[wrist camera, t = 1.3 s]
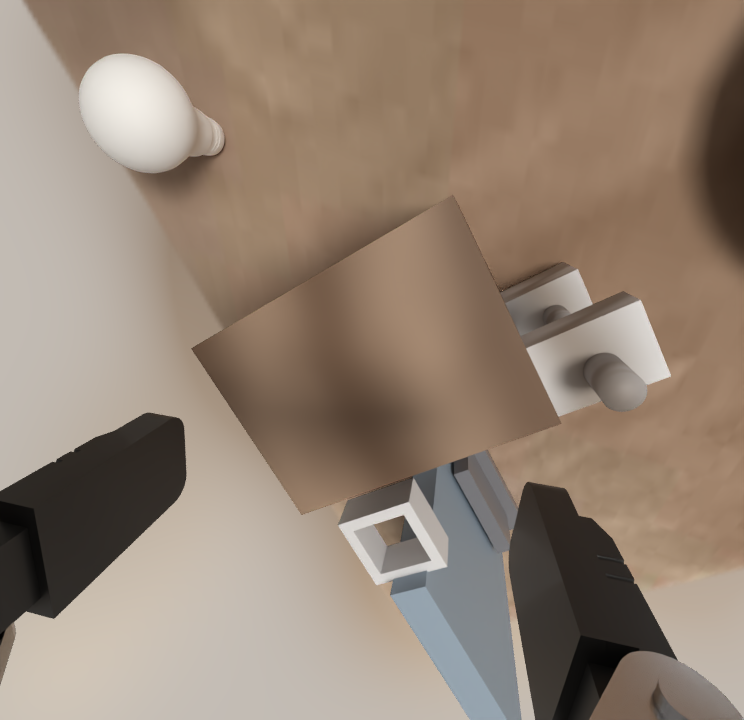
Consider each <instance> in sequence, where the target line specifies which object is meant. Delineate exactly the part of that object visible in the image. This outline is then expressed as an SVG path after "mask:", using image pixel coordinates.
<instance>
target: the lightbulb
mask: <svg viewBox="0 0 744 720" xmlns="http://www.w3.org/2000/svg"><path fill="white" fill-rule="evenodd" d="M79 108H80V113H81V116H82V119H83V122H84V124H85V126H86V129H87V131H88V133H89V134H90V136H91V137H92V139H93V140H94V142H95V143H96V144H97V145H98V146H99V147H100V149H101V150H102V151H103V152H104V153H105V154H107V155H108V156H109V157H110V158H112V159H113V160H114V161H116V162H117V163H119V164H121V165H123V166H125V167H127V168H129V169H132V170H135V171H138V172H144V173H160V172H165V171H169V170H171V169H174V168H176V167H177V166H178V165H180V164H181V163H182V162H183V161H185V160H186V159H187V158H188V157H189V156H192V157H197V156H201V155H207V156H212V155H216V154H218V153H219V152H220V151H221V150H222V148H223V145H224V133H223V130H222V128H221V126H220V125H219V124H218V123H217V122H216V121H214V120H212V119H211V118H209V117H207V116H206V115H205V114H204V113H203V112H202V111H200V110H199V109H197V108H195V107H193V105H192V103H191V101H190V99H189V97H188V95H187V94H186V92H185V90H184V88H183V87H182V85H181V84H180V83H179V82H178V81H177V79H176V78H175V77H174V76H172V75H171V74H170V73H169V72H168V71H167V70H166V69H164V68H163V67H162V66H161V65H159V64H157V63H155V62H153V61H152V60H150V59H147V58H145V57H142V56H138V55H134V54H113V55H109V56H105V57H103V58H102V59H100V60H98V61H97V62H95V63H94V64H93V65H92V66H91V67H90V68H89V69H88V70H87V72H86V74H85V75H84V77H83V79H82V82H81V85H80V89H79Z"/></svg>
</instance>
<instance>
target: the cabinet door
mask: <svg viewBox="0 0 744 720" xmlns="http://www.w3.org/2000/svg"><path fill="white" fill-rule="evenodd" d="M402 515H404V516H405V520H404V526H403V531H402V536H401V541H400V543H397V544H393V545H390V546H387V545H386V544H385V542H384V541H383V539H382V537H381V536H380V534H379V533H378V531H377V529H376V528H375V526H374V524H377V523H380V522H383V521H386V520H389V519H393V518H396V517H399V516H402ZM338 526H339V528H340V529H341V531H342V532H343V534H344V536H345V537H346V539H347V540H348V542H349V543H350V545H351V546H352V548H353V549H354V551H355V553H356V554H357V556H358V557H359V558H360V560H361V562H362V563H363V565H364V567H365V568H366V570H367V571H368V573H369V574H370V576H371V577H372V579H373V580H374V582H375V584H376V585H379V584H383V583H387V582H391V581H393V584H392V589H391V594H390V596H391V597H392V599H393V600H394V602H395V603H396V605H397V607H398V608H399V610H400V611H401V613H402V614H403V616H404V617H405V619H406V621H407V622H408V624H409V625H410V627H411V628H412V630H413V632H414V633H415V635H416V636H417V638H418V639H419V641H420V642H421V644H422V646H423V647H424V649H425V650H426V652H427V653H428V655H429V656H430V658H431V660H432V661H433V662H434V664H435V666H436V667H437V669H438V671H439V672H440V674H441V675H442V677H443V678H444V680H445V681H446V683H447V684H448V686H449V688H450V689H451V691H452V692H453V694H454V695H455V697H456V699H457V700H458V702H459V703H460V705H461V706H462V708H463V709H464V711H465V713H466V714H467V716H468V717H469V719H470V720H521V711H520V703H519V694H518V686H517V677H516V668H515V660H514V651H513V643H512V634H511V625H510V616H509V608H508V599H507V591H506V582H505V573H504V565H503V556H502V552H501V553H497V551H496V550H495V548H494V546H493V544H492V542H491V541H490V539H489V537H488V535H487V533H486V532H485V530H484V528H483V526H482V524H481V523H480V521H479V519H478V517H477V515H476V514H475V512H474V510H473V508H472V506H471V505H470V503H469V501H468V499H467V497H466V496H465V494H464V492H463V490H462V488H461V487H460V485H459V483H458V481H457V479H456V478H455V476H454V462H451V463H448V464H445V465H442V466H439V467H437V468H434V469H431V470H428V471H425V472H422V473H420V474H417V475H414V476H413V478H411V479H408V480H405V481H402V482H399V483H396V484H394V485H391V486H388V487H385V488H382V489H379V490H376V491H374V492H371V493H368V494H365V495H362V496H359V497H356V498H354V499H351V500H348V501H347V504H346V506H345V509H344V511H343V514H342V516H341V519H340V521H339V524H338Z"/></svg>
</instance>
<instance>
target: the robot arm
mask: <svg viewBox="0 0 744 720" xmlns="http://www.w3.org/2000/svg"><path fill="white" fill-rule="evenodd" d="M185 457H186V456H185V436H184V425H183V422H182V421H181V420H180V419H179V418H176V417H170V416H165V415H159V414H154V413H145V414H143V415H142V416H139V417H138V418H136V419H134V420H132V421H131V422H129V423H127V424H125V425H124V426H122V427H120V428H119V429H117V430H115V431H113V432H110V433H107V434H104V435H101V436H98V437H95V438H93V439H92V440H90V441H88V442H86V443H85V444H83V445H81V446H79V447H78V448H76V449H75V450H74V452H69V453H67V454H65V455H63V456H62V457H60V458H58V459H57V461H56V462H51V463H50V464H48V465H46V466H44V467H42V468H40V469H39V470H37V471H35V472H33V473H32V474H30V475H28V476H26V477H25V478H23V479H21V480H19V481H18V482H16V483H14V484H12V485H10V486H9V487H7V488H5V489H3V490H2V491H0V684H1V681H2V678H3V675H4V672H5V668H6V665H7V662H8V659H9V655H10V652H11V649H12V646H13V643H14V640H15V635H16V630H15V625H14V621H15V620H17V619H18V618H19V617H20V616H21V615H22V614H23V613H25V612H26V611H27V612H31V613H34V614H38V615H42V616H45V617H49V618H53V619H54V618H55V617H56V616H57V615H58V614H59V613H60V612H61V611H62V610H64V609H65V608H66V607H67V606H68V605H69V604H70V603H71V602H72V601H73V600H74V599H75V598H76V597H77V596H78V595H79V594H80V593H81V592H82V591H83V590H84V589H85V588H86V587H87V586H88V585H89V584H90V583H91V582H93V581H94V580H95V578H97V577H98V576H99V575H100V574H101V573H102V572H103V571H104V570H105V569H106V568H107V567H108V566H109V565H110V564H111V563H112V562H113V561H114V560H115V559H116V558H117V557H118V556H119V555H120V554H122V553H123V552H124V551H125V550H126V549H127V548H128V547H129V546H130V545H131V544H132V543H133V542H134V541H135V540H136V539H137V538H138V537H139V536H140V535H141V534H142V533H143V532H144V531H145V530H146V529H147V528H148V527H149V526H151V525H152V523H153V522H155V521H156V520H157V519H158V518H159V517H160V516H161V515H162V514H163V513H164V512H165V511H166V510H167V509H168V508H169V507H170V506H171V505H172V504H173V503H174V502H175V501H176V500H177V499H178V497H179V496H180V494H181V492H182V490H183V488H184V485H185V481H186V458H185ZM509 573H510V579H511V585H512V590H513V596H514V602H515V607H516V613H517V619H518V624H519V630H520V635H521V641H522V647H523V652H524V658H525V664H526V669H527V675H528V680H529V686H530V692H531V698H532V703H533V709H534V714H535V720H744V719H743V717H742V716H741V714H740V713H739V712H738V710H737V709H736V708H735V706H734V705H733V704H732V703H731V702H730V701H729V700H728V698H727V697H726V696H725V695H724V694H722V692H721V691H720V690H718V688H717V687H715V686H714V685H713V684H712V683H710V682H709V681H708V680H707V679H706V678H704V677H703V676H702V675H700V674H699V673H698V672H696V671H695V670H693V669H691V668H690V667H688V666H686V665H685V664H683V663H681V662H679V661H678V660H677V658H676V656H675V654H674V652H673V651H672V649H671V647H670V645H669V643H668V641H667V639H666V638H665V636H664V634H663V632H662V631H661V628H660V626H659V625H658V623H657V621H656V619H655V617H654V615H653V613H652V612H651V610H650V608H649V606H648V604H647V602H646V600H645V599H644V597H643V595H642V593H641V591H640V589H639V587H638V585H637V584H634V578H633V576H632V574H631V572H630V571H629V569H628V567H627V565H625V564H624V559H623V558H622V556H621V554H620V552H619V550H618V548H617V546H616V545H615V543H614V541H613V539H612V538H611V537H610V536H609V535H608V534H607V533H606V532H605V531H604V530H603V529H602V528H601V527H600V526H599V525H598V524H597V523H596V522H595V521H594V520H593V519H592V518H587V517H581V516H578V513H577V511H576V509H575V507H574V505H573V503H572V500H571V498H570V496H569V494H568V492H567V490H566V489H564V488H559V487H554V486H548V485H542V484H537V483H531V482H527V483H526V484H525V486H524V489H523V492H522V496H521V500H520V505H519V509H518V513H517V517H516V521H515V525H514V529H513V533H512V537H511V542H510V548H509Z"/></svg>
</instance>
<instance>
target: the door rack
mask: <svg viewBox="0 0 744 720" xmlns="http://www.w3.org/2000/svg"><path fill="white" fill-rule="evenodd" d="M454 476H455V478H456V479H457V481H458V483H459V485H460V487H461V488H462V490H463V492H464V494H465V496H466V497H467V499H468V501H469V503H470V505H471V506H472V508H473V510H474V512H475V514H476V515H477V517H478V519H479V521H480V523H481V524H482V526H483V528H484V530H485V532H486V533H487V535H488V537H489V539H490V541H491V542H492V544H493V546H494V548H495V550H496V551H497V553H501V552H505V551H509V548H510V542H511V540H510V533H509V530H511V529H514V525H515V521H516V517H517V513H518V507H517V505H516V503H515V501H514V499H513V497H512V496H511V494H510V492H509V490H508V488H507V486H506V484H505V482H504V480H503V478H502V477H501V475H500V473H499V471H498V469H497V467H496V465H495V463H494V461H493V460H492V458H491V456H490V454H489V452H488V450H485V451H482V452H479V453H476V454H474V455H471V456H468V457H465V458H462V459H459V460H457V461H454ZM412 478H413V476H412Z"/></svg>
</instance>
